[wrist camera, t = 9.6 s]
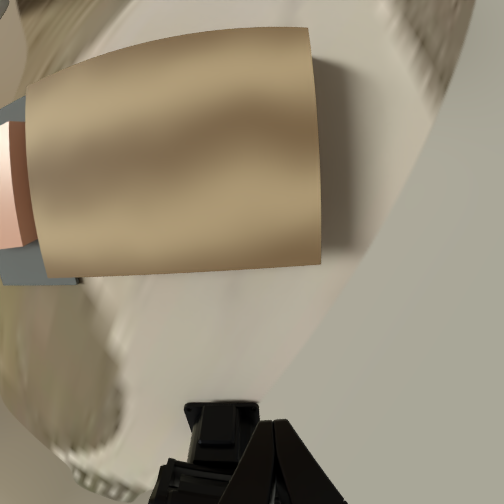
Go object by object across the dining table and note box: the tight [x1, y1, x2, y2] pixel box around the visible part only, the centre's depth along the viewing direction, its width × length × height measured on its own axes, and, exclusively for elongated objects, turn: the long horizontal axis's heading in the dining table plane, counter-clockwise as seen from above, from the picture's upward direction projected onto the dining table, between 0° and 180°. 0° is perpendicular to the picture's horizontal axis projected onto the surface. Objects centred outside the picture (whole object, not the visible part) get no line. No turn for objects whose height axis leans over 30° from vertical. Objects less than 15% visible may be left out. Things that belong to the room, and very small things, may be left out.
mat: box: [0, 96, 79, 285], centre depth 17 cm, size 15×10×1 cm, turn 4°
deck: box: [25, 27, 321, 278], centre depth 15 cm, size 12×16×4 cm
